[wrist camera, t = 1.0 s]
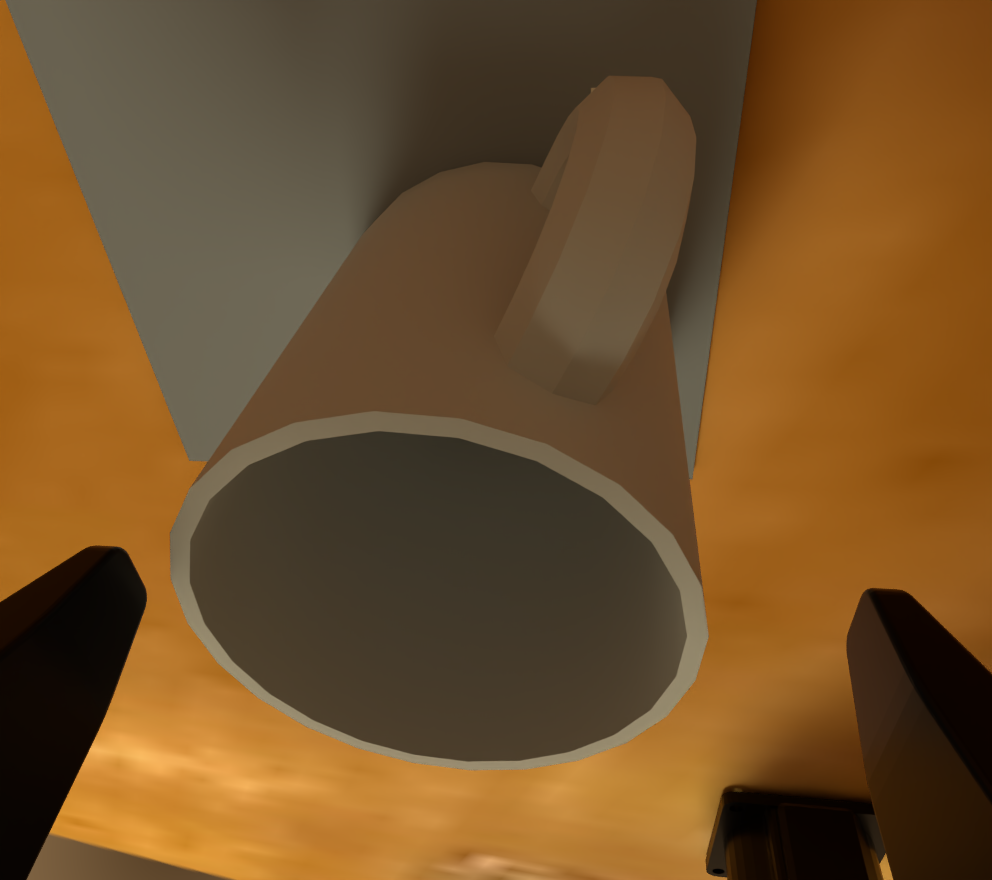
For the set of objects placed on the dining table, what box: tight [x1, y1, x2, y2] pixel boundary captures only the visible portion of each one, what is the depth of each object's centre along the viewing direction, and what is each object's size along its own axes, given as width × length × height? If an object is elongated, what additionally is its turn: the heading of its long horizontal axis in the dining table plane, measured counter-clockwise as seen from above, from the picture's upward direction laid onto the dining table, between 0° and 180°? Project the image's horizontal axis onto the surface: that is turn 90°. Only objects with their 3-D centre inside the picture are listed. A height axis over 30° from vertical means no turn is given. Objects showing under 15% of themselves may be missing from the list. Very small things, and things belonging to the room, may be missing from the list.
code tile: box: [6, 0, 757, 479], centre depth 17 cm, size 12×14×1 cm
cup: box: [170, 76, 709, 770], centre depth 13 cm, size 7×10×9 cm
